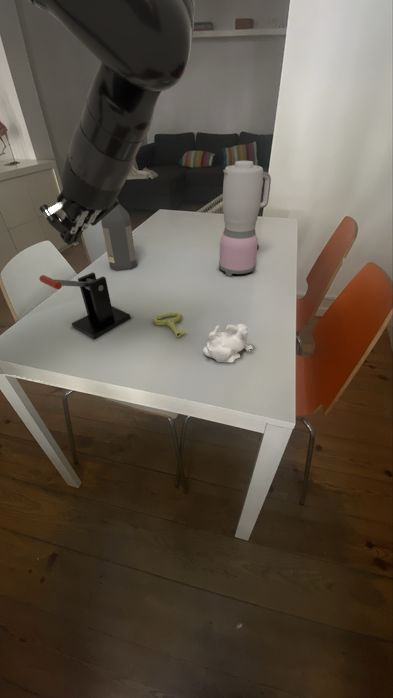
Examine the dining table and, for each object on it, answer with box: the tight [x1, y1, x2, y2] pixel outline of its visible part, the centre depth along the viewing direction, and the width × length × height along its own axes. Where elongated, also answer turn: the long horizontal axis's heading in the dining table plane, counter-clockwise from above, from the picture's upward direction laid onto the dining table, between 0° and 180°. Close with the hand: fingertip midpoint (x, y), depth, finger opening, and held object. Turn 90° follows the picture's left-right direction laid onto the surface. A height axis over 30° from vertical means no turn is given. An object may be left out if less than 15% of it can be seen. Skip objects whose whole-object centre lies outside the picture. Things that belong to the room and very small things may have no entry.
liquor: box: [100, 197, 138, 272], centre depth 104 cm, size 9×9×30 cm
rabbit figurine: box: [202, 323, 254, 363], centre depth 68 cm, size 12×8×10 cm, turn 94°
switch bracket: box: [71, 271, 131, 340], centre depth 80 cm, size 12×9×13 cm
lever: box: [39, 274, 97, 290], centre depth 73 cm, size 13×6×2 cm, turn 141°
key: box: [153, 311, 187, 338], centre depth 81 cm, size 7×12×2 cm, turn 39°
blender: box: [218, 160, 272, 277], centre depth 99 cm, size 16×12×32 cm
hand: (68, 239), depth 55 cm, fingers closed
